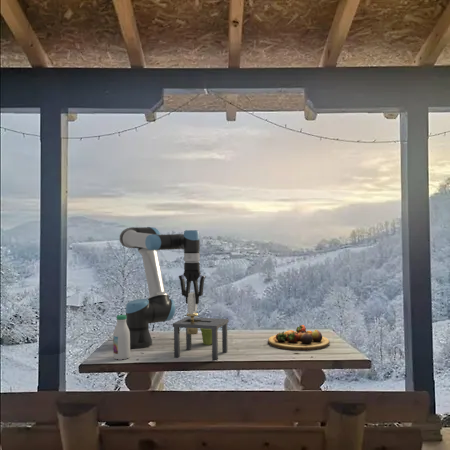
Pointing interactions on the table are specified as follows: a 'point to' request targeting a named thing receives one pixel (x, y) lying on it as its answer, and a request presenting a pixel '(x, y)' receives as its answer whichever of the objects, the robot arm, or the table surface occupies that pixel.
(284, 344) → the wooden plate with food
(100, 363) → the table surface
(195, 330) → the brass hanging weight
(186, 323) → the shelf
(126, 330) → the milk bottle
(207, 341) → the plant pot
